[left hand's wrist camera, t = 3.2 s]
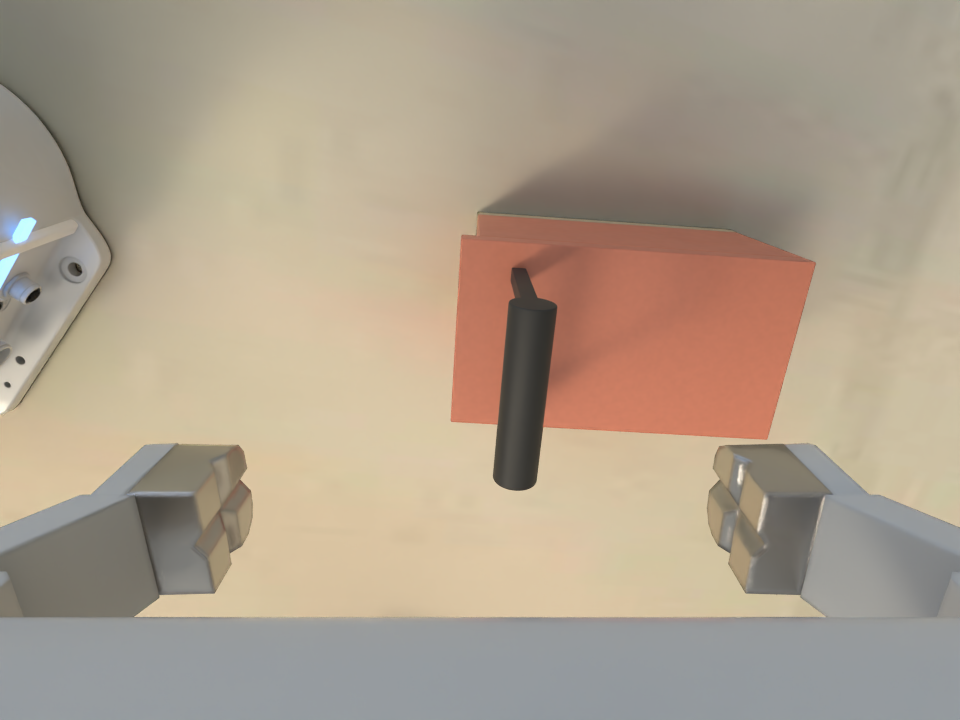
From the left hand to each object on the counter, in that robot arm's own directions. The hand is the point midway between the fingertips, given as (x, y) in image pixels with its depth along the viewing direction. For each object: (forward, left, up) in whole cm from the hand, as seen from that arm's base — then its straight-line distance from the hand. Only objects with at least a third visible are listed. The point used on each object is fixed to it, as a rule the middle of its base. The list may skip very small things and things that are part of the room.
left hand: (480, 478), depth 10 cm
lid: (0, -9, -20) cm, 22 cm away
